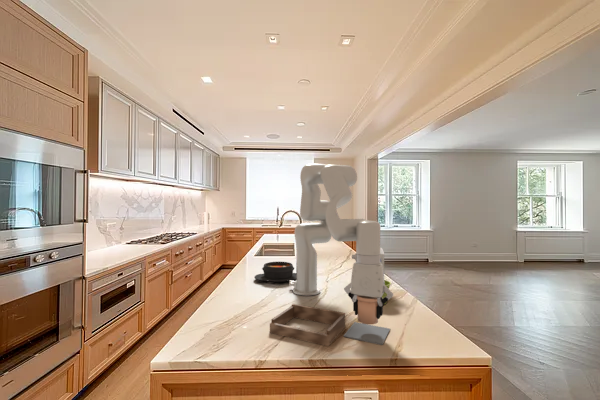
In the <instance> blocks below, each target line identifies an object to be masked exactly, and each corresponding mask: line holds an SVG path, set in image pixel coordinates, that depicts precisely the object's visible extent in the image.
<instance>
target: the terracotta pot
mask: <svg viewBox="0 0 600 400" xmlns="http://www.w3.org/2000/svg"><path fill="white" fill-rule="evenodd" d="M357 300H358V314H357V321H358V323H363V324H368V325H376V324H377V323H378V322H379V319H377V306H378V302H377V299H376V298H372V297H365V296H357ZM378 324H379V323H378Z"/></svg>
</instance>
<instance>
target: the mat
mask: <svg viewBox="0 0 600 400" xmlns="http://www.w3.org/2000/svg"><path fill="white" fill-rule="evenodd" d="M390 331H391V328H387V327H383V326H378V325H374V324H363V323H360V322H356V321H354V322H353V323H352V325H350V327H349V328H348V329H347V330H346V332H345V333H344V334H343V337H344V338H347V339H353V340H355V341H356V340H357V341H361V342H366V343H371V344H376V345H380V346H383V345H384V343H385V341H386V340H387V338H388V335H389V333H390Z"/></svg>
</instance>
